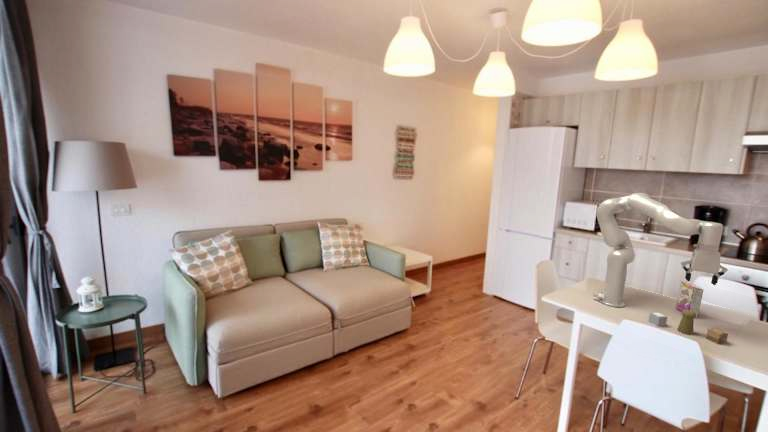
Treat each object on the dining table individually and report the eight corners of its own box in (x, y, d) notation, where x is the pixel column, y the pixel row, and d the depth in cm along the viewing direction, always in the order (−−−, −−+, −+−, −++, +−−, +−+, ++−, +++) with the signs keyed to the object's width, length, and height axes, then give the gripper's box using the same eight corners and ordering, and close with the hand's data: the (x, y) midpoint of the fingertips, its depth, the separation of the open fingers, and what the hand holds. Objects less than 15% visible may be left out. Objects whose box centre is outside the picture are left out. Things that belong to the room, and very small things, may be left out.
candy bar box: (674, 308, 199) (680, 280, 196) (685, 309, 199) (690, 281, 196) (687, 317, 189) (693, 288, 186) (698, 318, 188) (704, 289, 185)
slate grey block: (657, 326, 177) (659, 316, 176) (648, 321, 181) (650, 312, 180) (665, 326, 178) (667, 316, 177) (656, 321, 182) (658, 311, 181)
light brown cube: (717, 344, 162) (719, 333, 161) (705, 338, 167) (707, 328, 166) (726, 343, 163) (728, 333, 162) (714, 337, 168) (716, 327, 167)
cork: (673, 328, 175) (678, 307, 173) (685, 328, 175) (689, 308, 173) (684, 335, 169) (689, 313, 167) (696, 335, 169) (701, 313, 167)
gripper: (687, 247, 169) (680, 281, 172) (735, 252, 162) (727, 288, 165) (682, 243, 176) (675, 276, 179) (727, 249, 168) (720, 283, 171)
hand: (700, 282), depth 172 cm, fingers open, 9 cm apart
